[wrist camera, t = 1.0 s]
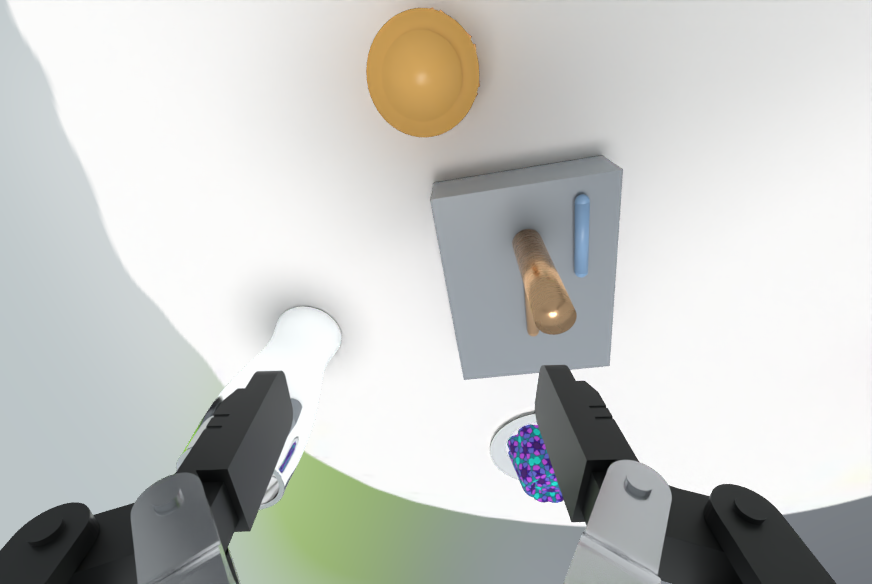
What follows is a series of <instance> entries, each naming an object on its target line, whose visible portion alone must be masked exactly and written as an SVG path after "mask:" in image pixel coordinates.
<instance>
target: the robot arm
mask: <svg viewBox="0 0 872 584" xmlns="http://www.w3.org/2000/svg"><path fill="white" fill-rule="evenodd" d="M535 415H536V420H537V424H538V427H539V430H540V433H541V435H542V438H543V441H544V444H545V447H546V450H547V453H548V456H549V458H550V461H551V464H552V467H553V470H554V473H555V476H556V479H557V482H558V484H559V487H560V490H561V493H562V496H563V499H564V502H565V505H566V508H567V510H568V513H569V516H570V519H571V522H586V525H587V527H586V529H585V532H583V534H582V536H581V538H580V541H579V543H578V546H577V549H576V551H575V554H574V557H573V559H572V562H571V564H570V567H569V570H568V573H567V575H566V578H565V580H564V583H563V584H660V583H661V580H662V581H665V582H669V583H672V584H836V583H835V581H834V580H833V579H832V578H831V576H830V575H829V574H828V572H827V571H826V570H825V569H824V567H823V566H822V565H821V564H820V563H819V561H818V560H817V559H816V557H815V556H814V555H813V554H812V552H811V551H810V550H809V548H808V547H807V546H806V545H805V544H804V542H803V541H802V540H801V538H800V537H799V536H798V534H797V533H796V532H795V531H794V529H793V528H792V527H791V526H790V524H789V523H788V522H787V521H786V519H785V518H784V517H783V515H782V514H781V513H780V512H779V511H778V510H777V508H776V507H775V506H773V505H772V504H771V503H770V502H769V501H768V500H766V499H765V498H764V497H762V496H761V495H759V494H757V493H755V492H754V491H752V490H749V489H747V488H744V487H741V486H738V485H733V484H722V485H719V486H717V487H715V488H714V489H713V491H712V493H711V495H710V496H706V495H702V494H698V493H694V492H690V491H686V490H682V489H678V488H675V487H672V486H670V485H668V484H667V482H666V481H665V480H664V478H663V477H662V476H661V475H660V474H659V473H657V472H656V471H655V470H654V469H652V468H650V467H649V466H647V465H645V464H643V463H640V462H639V461H638V459H637V458H636V456H635V454H634V452H633V451H632V449H631V447H630V446H629V444H628V442H627V441H626V439H625V437H624V435H623V434H622V432H621V430H620V429H619V427H618V425H617V424H616V422H615V420H614V419H612V415H611V413H610V412H609V410H608V408H606V405H605V403H604V401H603V400H602V398H601V396H600V395H599V393H598V392H597V391H596V390H595V389H594V388H593V387H591V386H590V385H589V384H588V383H587V382H585V381H575V379H574V377H573V375H572V373H571V371H570V369H569V368H568V366H567V365H542V366H541V368H540V372H539V378H538V385H537V392H536V399H535ZM292 421H293V407H292V403H291V398H290V394H289V390H288V385H287V381H286V377H285V374H284V372H283V371H257V372H255V373H254V375H253V376H252V378H251V380H250V381H249V383H248V385H247V386H246V388H238V389H236V390H235V391H234V392H233V393H232V394H230V395H229V396H228V397H227V398H225V399H224V400H223V401H222V403H221V404H220V406H219V407H218V409H217V410H216V412H215V413H214V417H212V418H211V420H210V421H209V423H208V424H207V426H206V429H204V430H203V432H202V433H201V435H200V436H199V438H198V439H197V441H196V443H195V444H194V446H193V447H192V449H191V450H190V452H189V453H188V455H187V456H186V458H185V459H184V461H183V462H182V464H181V465H180V467H179V469H178V470H177V472H176V473H175V474H173V475H170V476H167V477H165V478H163V479H161V480H159V481H157V482H155V483H154V484H152V485H151V486H150V487H149V488H147V489H146V490H145V491H144V492H143V493H142V494H141V495H140V496H139V497H138V499H137V500H136V502H135V503H132V504H129V505H126V506H123V507H119V508H116V509H112V510H109V511H106V512H102V513H99V514H96V515H93V514H92V513H91V511H90V510H89V508H88V507H87V506H86V505H84V504H82V503H67V504H63V505H60V506H57V507H54V508H52V509H49V510H47V511H45V512H43V513H41V514H40V515H38V516H36V517H35V518H33V519H32V520H31V521H29V522H28V523H27V524H25V525H24V526H23V527H22V528H21V529H20V530H18V531H17V532H16V533H15V535H14V536H13V537H12V538H11V539H10V540H9V541H8V542H7V544H6V545H5V546H4V547H3V548H2V549H1V550H0V584H240V581H239V578H238V574H237V572H236V568H235V565H234V562H233V559H232V556H231V553H230V550H229V547H228V545H229V543H230V540H231V538H232V536H233V533H234V532H242V531H250V530H251V528H252V525H253V523H254V520H255V518H256V515H257V513H258V510H259V508H260V505H261V503H262V500H263V498H264V495H265V493H266V490H267V487H268V485H269V482H270V480H271V477H272V475H273V472H274V470H275V467H276V465H277V462H278V460H279V457H280V455H281V452H282V450H283V447H284V445H285V442H286V439H287V437H288V434H289V432H290V429H291V426H292Z"/></svg>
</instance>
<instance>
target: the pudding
mask: <svg viewBox="0 0 872 584" xmlns="http://www.w3.org/2000/svg"><path fill="white" fill-rule="evenodd" d="M534 422H537V420H536V415H535V414H531V415H528V416H524V417H521V418H519V419H516V420H514V421H512V422H510V423H508V424H507V425H505V426H504V427H503V428H502V429H500V430H499V432H498V433H497V434H496V435H495V437H494V438H493V440H492V443H491V446H490V455H491V458H492V461H493V462H494V464H495V465H496V466H497V468H498V469H499V470H501V471H502V472H503V473H505V474H506V475H508V476H510V477H512V478H515V479H518V480H520V483H521V485H522V488H523V490H524V491H525V492H526V494H528V495H529V496H531V497H534V499H535V500H537V501H540V502H548V501H550V502H552V503H558V502H562V501H563V500H564V499H563V496H562V493H561V490H560V487H559V484H558V482H557V479H556V476H555V473H554V470H553V467H552V464H551V461H550V458H549V456H548V453H547V450H546V447H545V444H544V441H543V438H542V435H541V433H540V430H539V427H538V425H527V424H530V423H534ZM524 425H527V426H524ZM522 426H523V427H522ZM520 427H522V428H521V429H519V428H520ZM517 429H519V431H518V435H515V436H512V437H510V435H511V434H512V433H513V432H514V431H516V430H517ZM509 437H510V439H509V440H508V438H509ZM507 440H508V444H507V445H508V447H509V450H510V451H509V452H508V454H509V456H508V455H507V452H506V443H507ZM509 457H510V458H509Z"/></svg>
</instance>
